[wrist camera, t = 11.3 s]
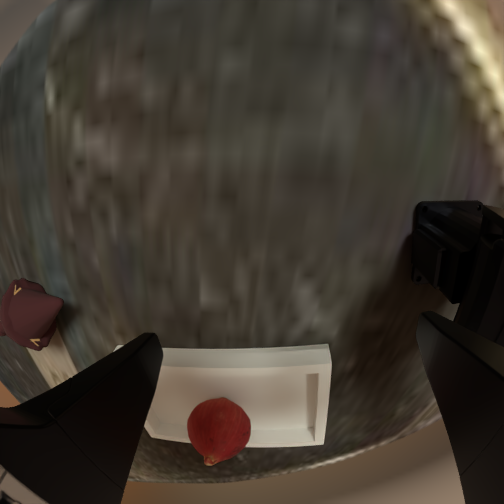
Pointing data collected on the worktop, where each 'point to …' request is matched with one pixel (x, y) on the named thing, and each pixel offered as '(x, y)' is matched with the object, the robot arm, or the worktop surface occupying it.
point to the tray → (246, 391)
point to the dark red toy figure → (29, 314)
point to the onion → (218, 429)
